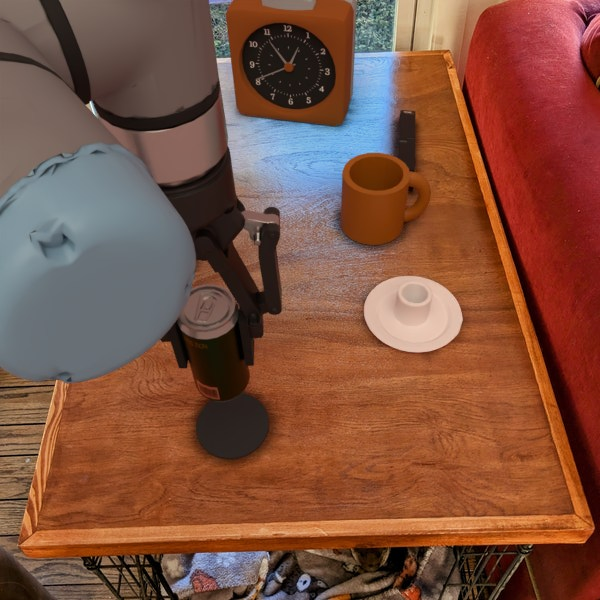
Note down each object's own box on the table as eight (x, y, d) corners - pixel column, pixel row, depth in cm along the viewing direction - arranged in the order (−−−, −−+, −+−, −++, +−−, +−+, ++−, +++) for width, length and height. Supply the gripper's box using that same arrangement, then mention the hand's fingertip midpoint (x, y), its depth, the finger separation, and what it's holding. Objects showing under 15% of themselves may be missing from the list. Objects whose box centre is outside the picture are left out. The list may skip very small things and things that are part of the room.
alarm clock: (235, 116, 106) (221, -7, 90) (250, 87, 111) (238, -34, 95) (343, 129, 103) (348, 4, 87) (353, 98, 108) (358, -25, 92)
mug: (425, 250, 85) (435, 200, 78) (337, 243, 86) (339, 193, 79) (426, 205, 91) (435, 155, 84) (343, 199, 92) (345, 149, 85)
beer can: (241, 410, 60) (226, 337, 51) (188, 399, 61) (164, 325, 52) (257, 364, 63) (246, 287, 54) (206, 354, 64) (187, 277, 55)
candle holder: (480, 330, 76) (488, 308, 73) (398, 371, 73) (402, 350, 70) (423, 267, 83) (428, 244, 80) (345, 301, 80) (346, 279, 76)
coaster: (217, 473, 66) (217, 471, 65) (184, 416, 70) (183, 414, 70) (282, 435, 68) (282, 433, 68) (246, 382, 73) (246, 380, 72)
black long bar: (413, 195, 92) (415, 179, 90) (395, 194, 92) (397, 178, 90) (414, 123, 103) (416, 107, 101) (398, 122, 103) (400, 106, 101)
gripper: (311, 112, 43) (314, 319, 61) (41, 123, 43) (124, 326, 61) (316, 184, 38) (318, 385, 56) (13, 197, 38) (112, 393, 56)
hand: (217, 354), depth 58 cm, fingers closed on beer can, 5 cm apart
